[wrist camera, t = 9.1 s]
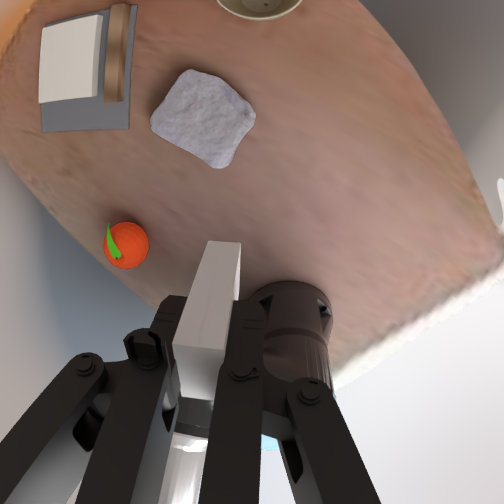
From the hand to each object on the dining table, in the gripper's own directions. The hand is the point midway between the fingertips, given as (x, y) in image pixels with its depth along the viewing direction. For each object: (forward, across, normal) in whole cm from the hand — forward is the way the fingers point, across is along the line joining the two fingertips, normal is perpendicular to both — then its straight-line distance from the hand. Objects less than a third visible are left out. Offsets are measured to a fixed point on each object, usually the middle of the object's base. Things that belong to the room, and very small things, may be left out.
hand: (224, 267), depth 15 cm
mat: (+28, +24, -13) cm, 39 cm away
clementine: (+29, +18, +13) cm, 36 cm away
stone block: (+28, +6, -5) cm, 29 cm away
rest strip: (+27, +18, -14) cm, 36 cm away
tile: (+26, +21, -14) cm, 37 cm away
